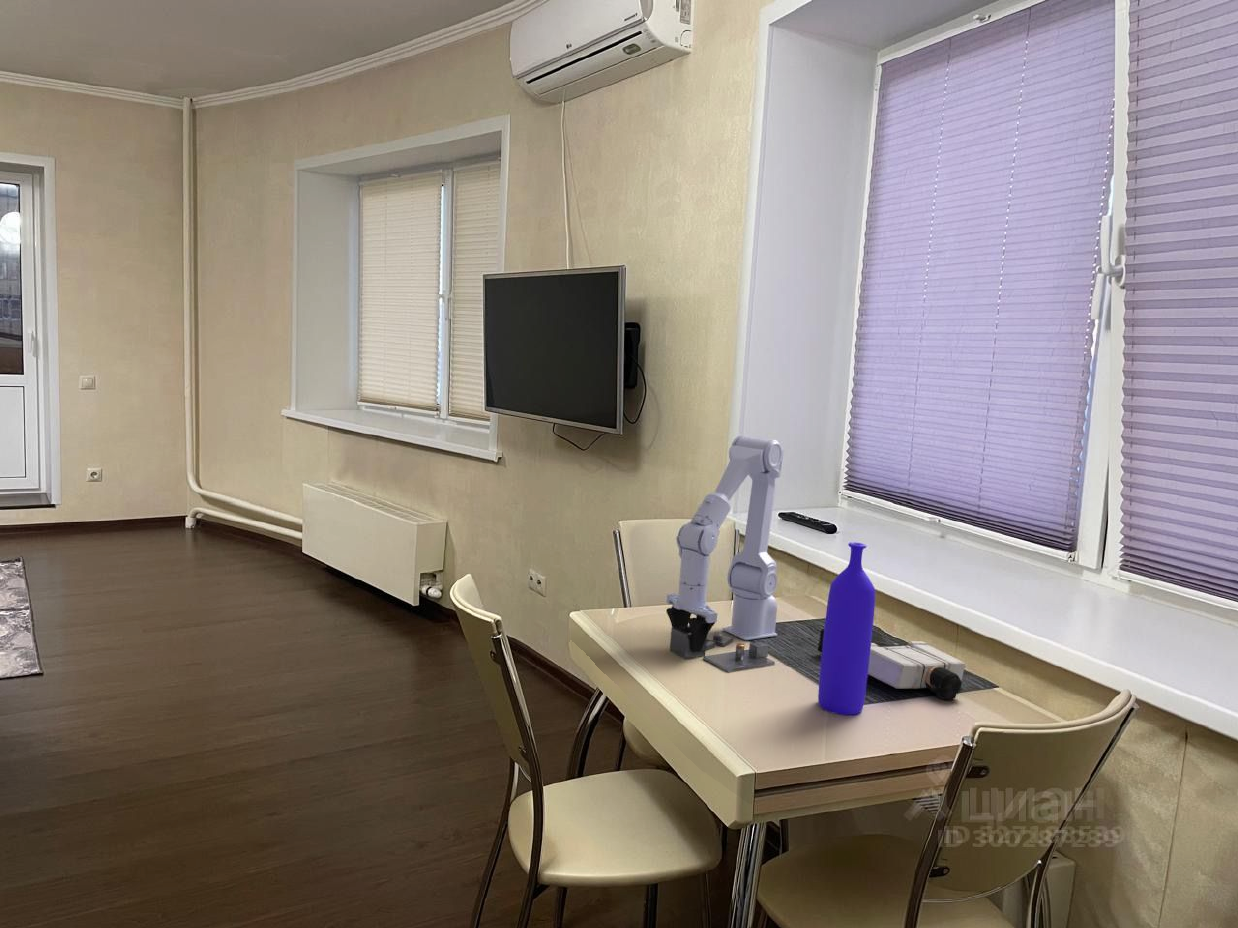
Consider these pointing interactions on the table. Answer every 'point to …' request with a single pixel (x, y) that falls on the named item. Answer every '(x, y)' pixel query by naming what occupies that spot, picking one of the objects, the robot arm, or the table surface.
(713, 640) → the gray t-shaped latch
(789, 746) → the table surface
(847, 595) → the bottle
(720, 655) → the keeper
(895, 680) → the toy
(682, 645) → the gray hollow cube
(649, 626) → the table surface
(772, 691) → the table surface
